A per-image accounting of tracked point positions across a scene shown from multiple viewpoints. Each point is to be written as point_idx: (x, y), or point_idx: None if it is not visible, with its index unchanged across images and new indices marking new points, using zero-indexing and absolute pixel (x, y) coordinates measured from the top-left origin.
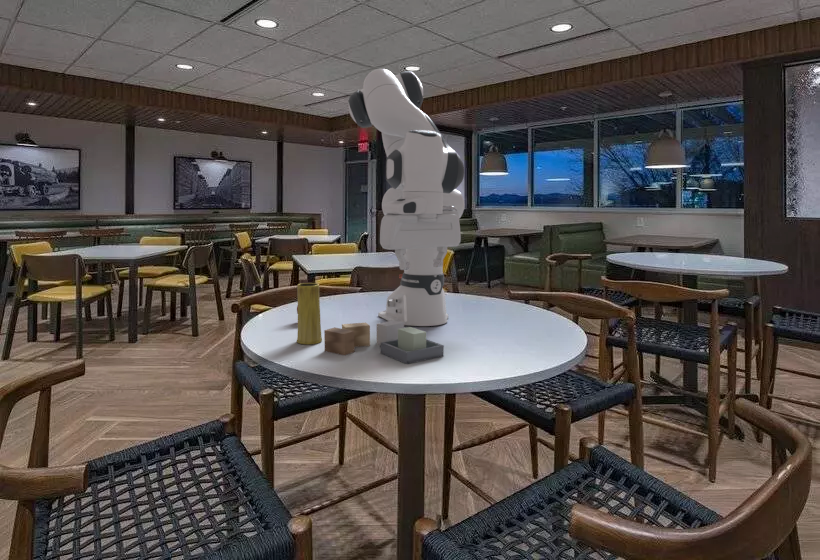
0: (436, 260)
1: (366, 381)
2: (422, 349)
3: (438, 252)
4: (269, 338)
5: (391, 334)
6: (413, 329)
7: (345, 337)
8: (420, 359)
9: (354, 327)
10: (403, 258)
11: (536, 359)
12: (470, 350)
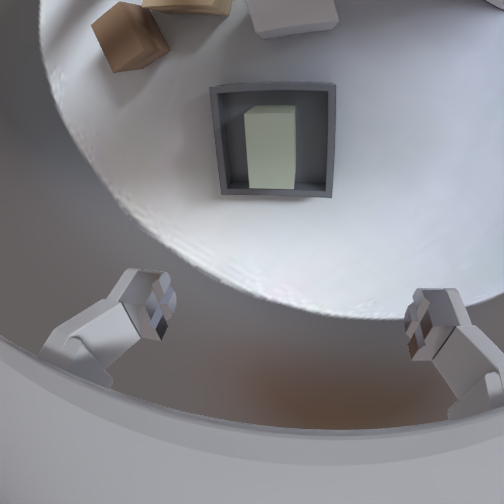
0: (416, 344)
1: (134, 219)
2: (266, 194)
3: (491, 361)
4: None
5: (280, 32)
6: (280, 145)
7: (122, 69)
8: None
9: (166, 5)
10: (111, 352)
11: None
12: (407, 192)
